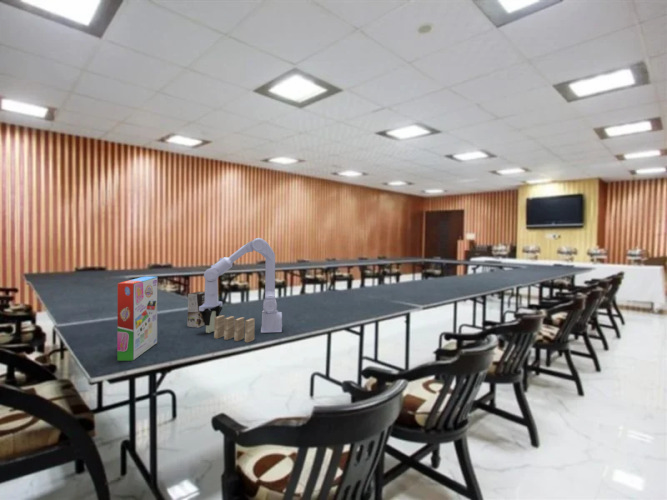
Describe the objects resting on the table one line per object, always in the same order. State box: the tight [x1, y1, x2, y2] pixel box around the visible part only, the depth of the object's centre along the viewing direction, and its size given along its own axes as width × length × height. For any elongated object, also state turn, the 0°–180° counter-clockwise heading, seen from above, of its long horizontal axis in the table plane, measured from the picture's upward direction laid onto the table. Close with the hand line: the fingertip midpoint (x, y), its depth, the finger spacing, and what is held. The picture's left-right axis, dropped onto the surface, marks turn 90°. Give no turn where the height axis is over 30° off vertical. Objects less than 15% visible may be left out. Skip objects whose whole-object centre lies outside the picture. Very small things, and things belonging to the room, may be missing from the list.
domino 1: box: [205, 311, 216, 334], centre depth 163 cm, size 2×5×9 cm, turn 162°
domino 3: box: [223, 315, 235, 341], centre depth 154 cm, size 2×5×9 cm, turn 162°
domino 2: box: [213, 314, 226, 339], centre depth 155 cm, size 2×5×9 cm, turn 162°
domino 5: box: [244, 317, 256, 343], centre depth 151 cm, size 2×5×9 cm, turn 162°
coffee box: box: [186, 291, 206, 329], centre depth 175 cm, size 9×6×16 cm
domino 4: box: [233, 316, 245, 342], centre depth 152 cm, size 2×5×9 cm, turn 162°
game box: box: [116, 275, 158, 362], centre depth 133 cm, size 21×6×27 cm, turn 5°
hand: (210, 323), depth 163 cm, fingers closed on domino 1, 5 cm apart
